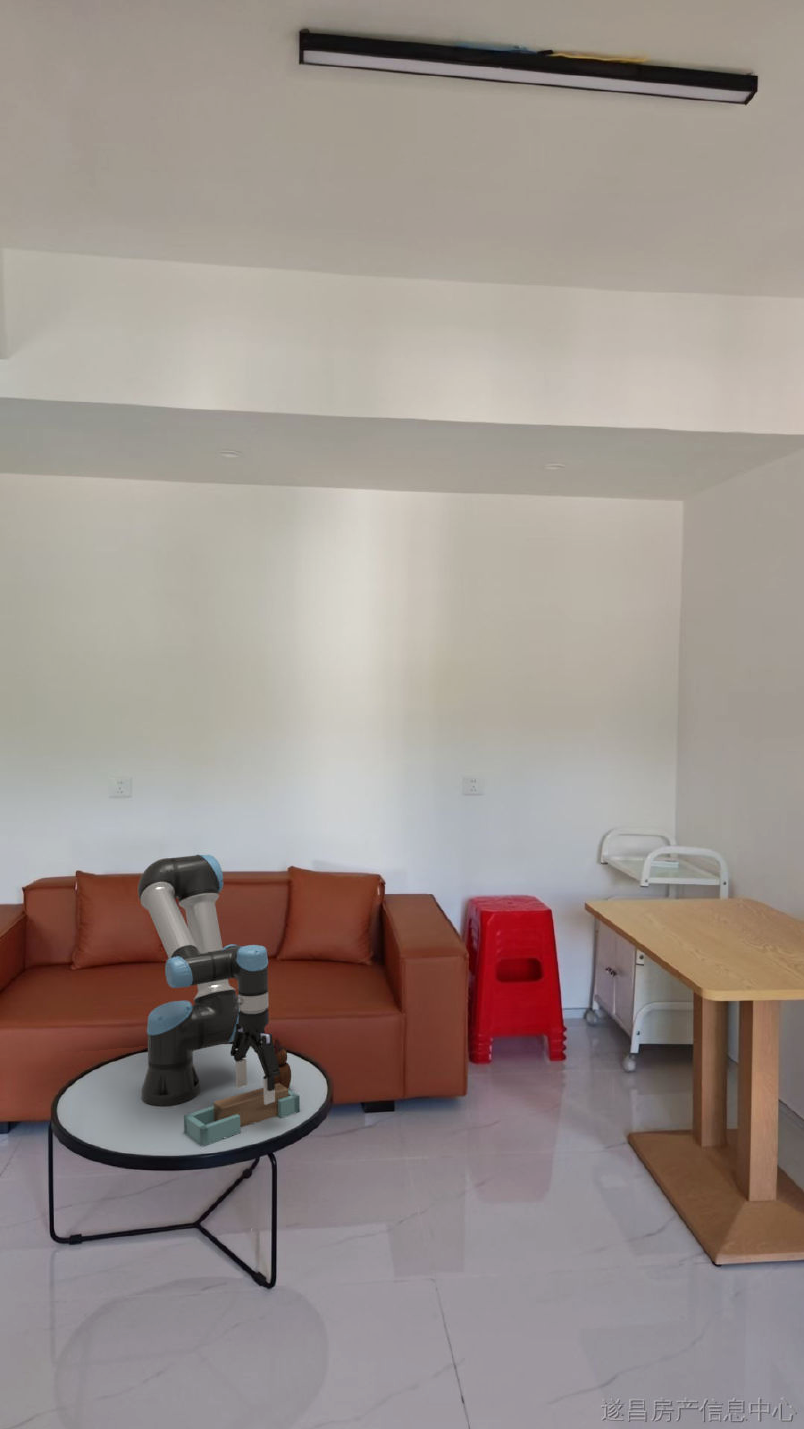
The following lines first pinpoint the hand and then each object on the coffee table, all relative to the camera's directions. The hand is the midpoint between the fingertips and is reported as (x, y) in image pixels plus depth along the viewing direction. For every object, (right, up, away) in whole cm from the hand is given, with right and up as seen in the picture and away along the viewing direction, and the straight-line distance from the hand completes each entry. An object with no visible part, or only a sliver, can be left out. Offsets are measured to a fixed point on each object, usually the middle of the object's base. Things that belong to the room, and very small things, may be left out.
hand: (255, 1094), depth 215 cm
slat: (-1, -6, -1) cm, 6 cm away
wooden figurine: (+4, -6, +15) cm, 16 cm away
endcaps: (-2, -6, -2) cm, 7 cm away
